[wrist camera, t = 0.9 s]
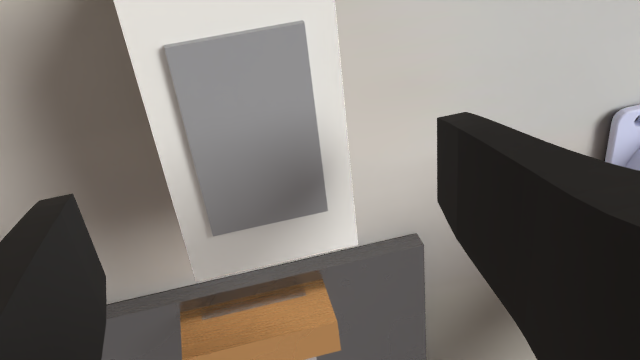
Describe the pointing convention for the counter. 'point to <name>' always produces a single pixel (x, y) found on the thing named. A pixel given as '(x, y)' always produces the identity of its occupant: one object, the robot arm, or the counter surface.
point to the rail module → (246, 126)
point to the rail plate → (286, 312)
